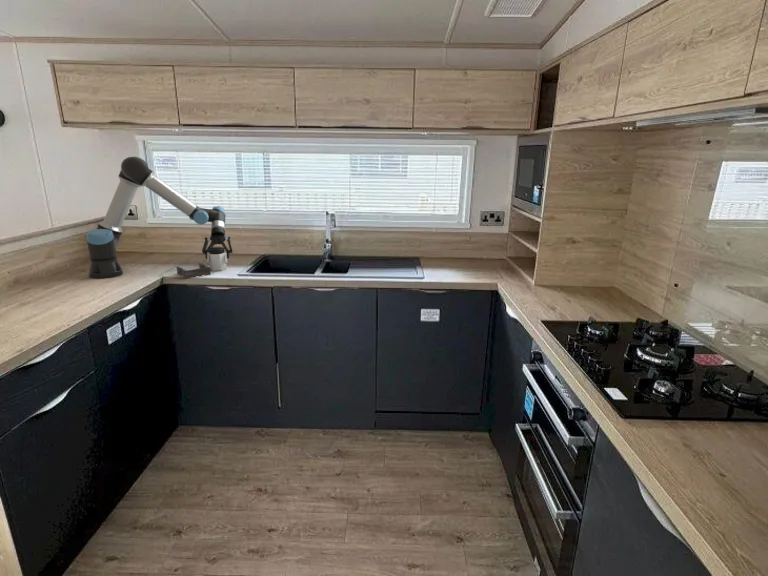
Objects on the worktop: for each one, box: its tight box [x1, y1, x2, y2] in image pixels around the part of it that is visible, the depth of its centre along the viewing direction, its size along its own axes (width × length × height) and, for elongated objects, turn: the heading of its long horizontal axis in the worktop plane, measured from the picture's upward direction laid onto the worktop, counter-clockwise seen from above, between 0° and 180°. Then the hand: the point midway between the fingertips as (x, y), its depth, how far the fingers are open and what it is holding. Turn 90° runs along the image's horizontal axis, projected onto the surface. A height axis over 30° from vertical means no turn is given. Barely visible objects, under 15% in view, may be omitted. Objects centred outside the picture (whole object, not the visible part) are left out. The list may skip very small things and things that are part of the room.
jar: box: [209, 246, 227, 272], centre depth 242 cm, size 9×8×12 cm
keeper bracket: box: [176, 262, 212, 279], centre depth 231 cm, size 13×13×4 cm
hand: (217, 263), depth 239 cm, fingers closed on jar, 9 cm apart
